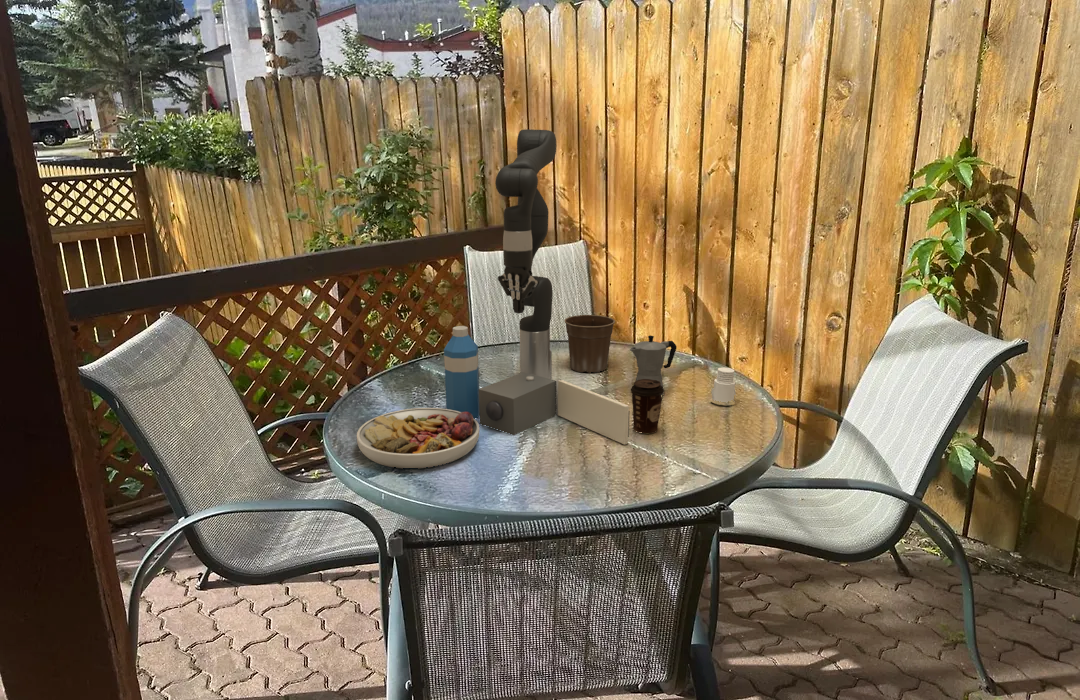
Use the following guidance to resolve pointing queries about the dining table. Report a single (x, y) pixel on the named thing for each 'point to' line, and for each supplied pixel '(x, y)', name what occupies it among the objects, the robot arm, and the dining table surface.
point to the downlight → (724, 385)
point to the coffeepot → (652, 358)
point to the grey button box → (517, 402)
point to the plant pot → (589, 342)
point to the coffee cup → (646, 405)
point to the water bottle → (462, 372)
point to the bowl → (418, 437)
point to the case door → (593, 411)
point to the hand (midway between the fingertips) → (518, 312)
